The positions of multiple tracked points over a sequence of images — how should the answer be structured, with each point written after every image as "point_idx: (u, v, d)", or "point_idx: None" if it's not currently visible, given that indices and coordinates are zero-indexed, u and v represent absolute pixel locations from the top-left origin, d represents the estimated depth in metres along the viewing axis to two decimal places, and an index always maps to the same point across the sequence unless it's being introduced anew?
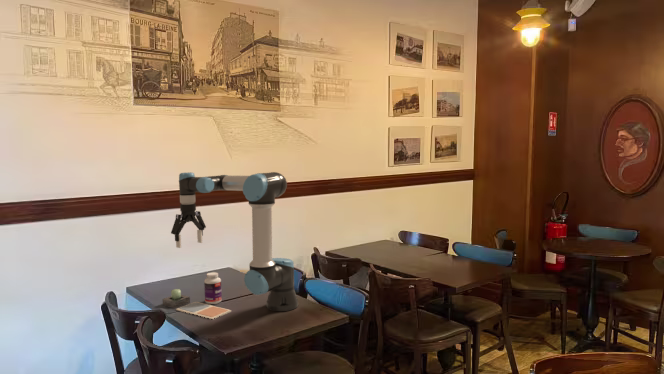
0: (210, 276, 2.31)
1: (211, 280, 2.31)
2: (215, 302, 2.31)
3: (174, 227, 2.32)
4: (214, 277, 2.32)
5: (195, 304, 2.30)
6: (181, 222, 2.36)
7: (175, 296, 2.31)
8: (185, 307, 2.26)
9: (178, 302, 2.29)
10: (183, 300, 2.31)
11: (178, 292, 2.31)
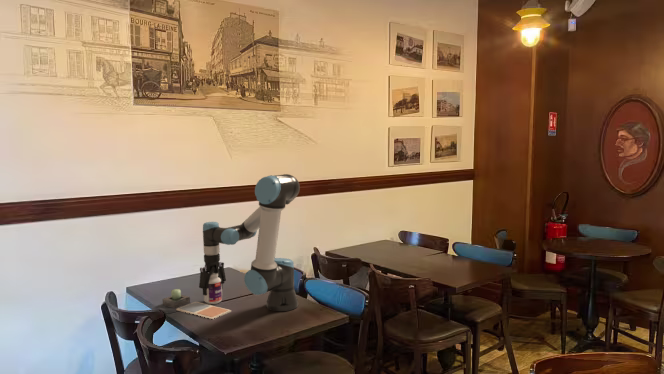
0: (210, 276, 2.31)
1: (211, 280, 2.31)
2: (215, 302, 2.31)
3: (201, 281, 2.28)
4: (214, 277, 2.32)
5: (195, 304, 2.30)
6: (206, 274, 2.31)
7: (175, 296, 2.31)
8: (185, 307, 2.26)
9: (178, 302, 2.29)
10: (183, 300, 2.31)
11: (178, 292, 2.31)
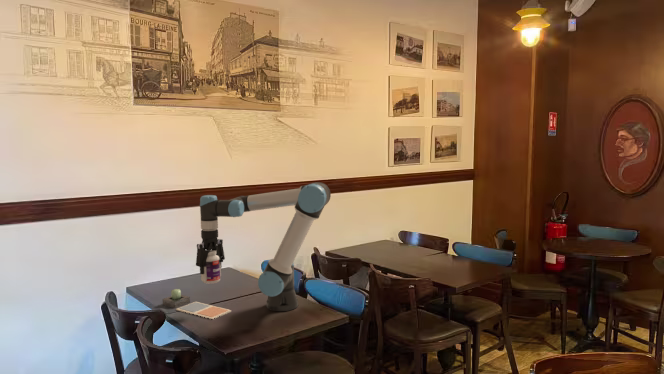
0: (208, 253, 2.15)
1: (209, 258, 2.14)
2: (213, 281, 2.15)
3: (198, 259, 2.11)
4: (212, 254, 2.15)
5: (195, 304, 2.30)
6: (204, 252, 2.14)
7: (175, 296, 2.31)
8: (185, 307, 2.26)
9: (178, 302, 2.29)
10: (183, 300, 2.31)
11: (178, 292, 2.31)
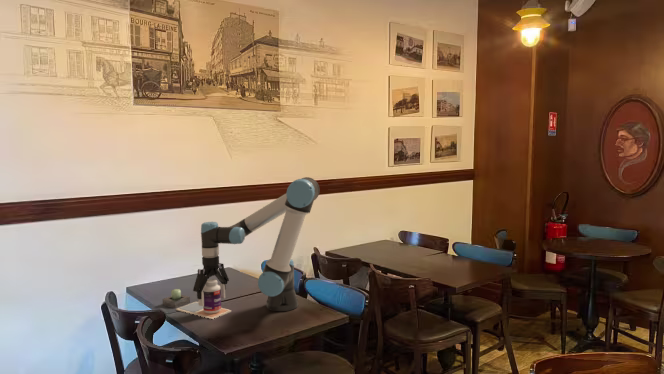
0: (209, 284, 2.16)
1: (210, 288, 2.16)
2: (214, 311, 2.16)
3: (196, 284, 2.11)
4: (213, 285, 2.16)
5: (195, 304, 2.30)
6: (203, 277, 2.15)
7: (175, 296, 2.31)
8: (185, 307, 2.26)
9: (178, 302, 2.29)
10: (183, 300, 2.31)
11: (178, 292, 2.31)
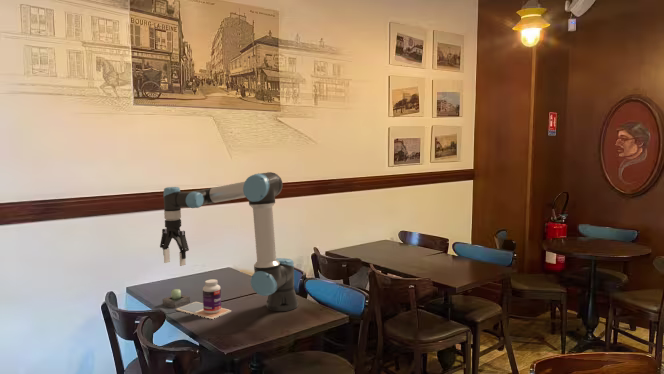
0: (209, 283, 2.16)
1: (210, 288, 2.16)
2: (214, 311, 2.16)
3: None
4: (213, 284, 2.17)
5: (195, 304, 2.30)
6: None
7: (175, 296, 2.31)
8: (185, 307, 2.26)
9: (178, 302, 2.29)
10: (183, 300, 2.31)
11: (178, 292, 2.31)
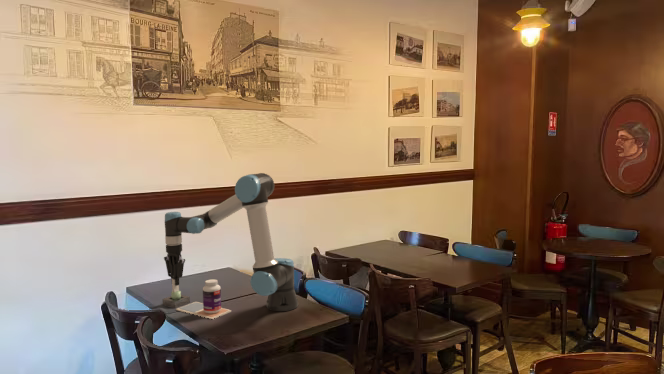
0: (209, 283, 2.16)
1: (210, 288, 2.16)
2: (214, 311, 2.16)
3: None
4: (213, 284, 2.17)
5: (195, 304, 2.30)
6: None
7: (175, 298, 2.31)
8: (185, 307, 2.26)
9: (178, 302, 2.29)
10: (183, 300, 2.31)
11: (178, 293, 2.31)
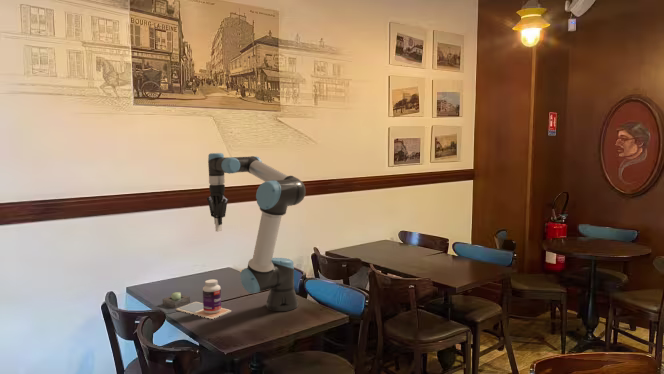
0: (209, 283, 2.16)
1: (210, 288, 2.16)
2: (214, 311, 2.16)
3: None
4: (213, 285, 2.17)
5: (195, 304, 2.30)
6: None
7: None
8: (185, 307, 2.26)
9: (178, 302, 2.29)
10: (183, 300, 2.31)
11: (178, 295, 2.31)
